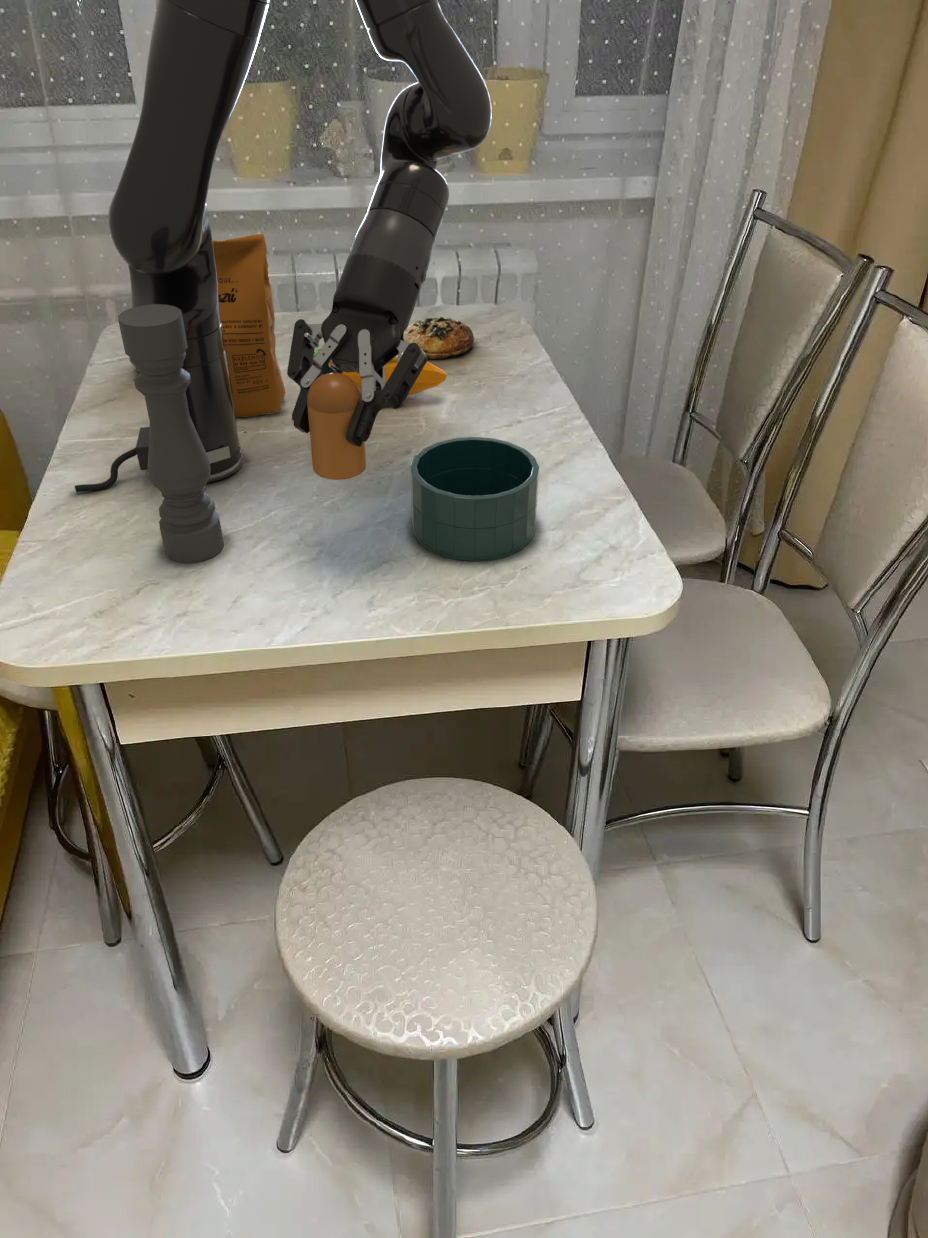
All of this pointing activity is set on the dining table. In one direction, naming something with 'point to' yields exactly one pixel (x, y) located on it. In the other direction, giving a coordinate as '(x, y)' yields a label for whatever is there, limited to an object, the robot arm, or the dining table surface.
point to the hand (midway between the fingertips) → (326, 435)
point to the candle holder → (172, 432)
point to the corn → (425, 380)
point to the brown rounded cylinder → (334, 427)
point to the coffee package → (248, 325)
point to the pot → (474, 498)
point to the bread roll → (440, 337)
